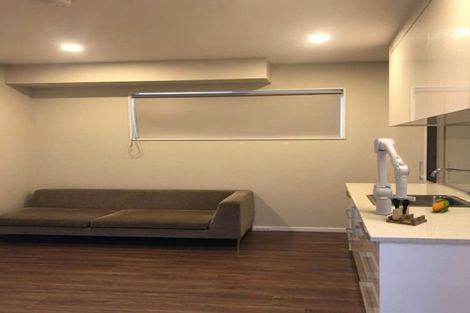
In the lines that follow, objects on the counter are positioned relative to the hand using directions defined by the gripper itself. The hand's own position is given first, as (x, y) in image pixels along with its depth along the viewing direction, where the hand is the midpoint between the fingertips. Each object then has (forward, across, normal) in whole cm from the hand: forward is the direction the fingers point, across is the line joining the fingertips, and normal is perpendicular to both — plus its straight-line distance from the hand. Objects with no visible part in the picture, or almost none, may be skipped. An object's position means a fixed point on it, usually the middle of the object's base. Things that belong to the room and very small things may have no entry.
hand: (401, 213), depth 231 cm
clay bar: (+2, 0, 0) cm, 2 cm away
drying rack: (+4, +3, 0) cm, 5 cm away
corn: (+4, +5, +44) cm, 44 cm away
